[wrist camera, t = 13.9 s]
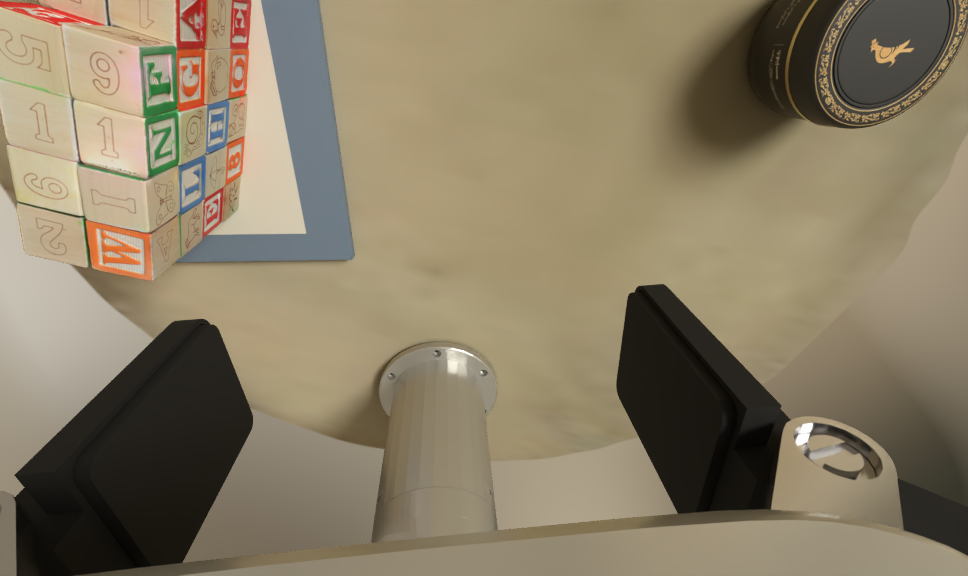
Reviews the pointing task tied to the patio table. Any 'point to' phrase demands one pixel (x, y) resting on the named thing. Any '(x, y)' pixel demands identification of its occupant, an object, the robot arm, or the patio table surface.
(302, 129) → the board
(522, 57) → the patio table surface
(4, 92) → the stack of blocks
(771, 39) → the jar
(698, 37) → the patio table surface
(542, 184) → the patio table surface
